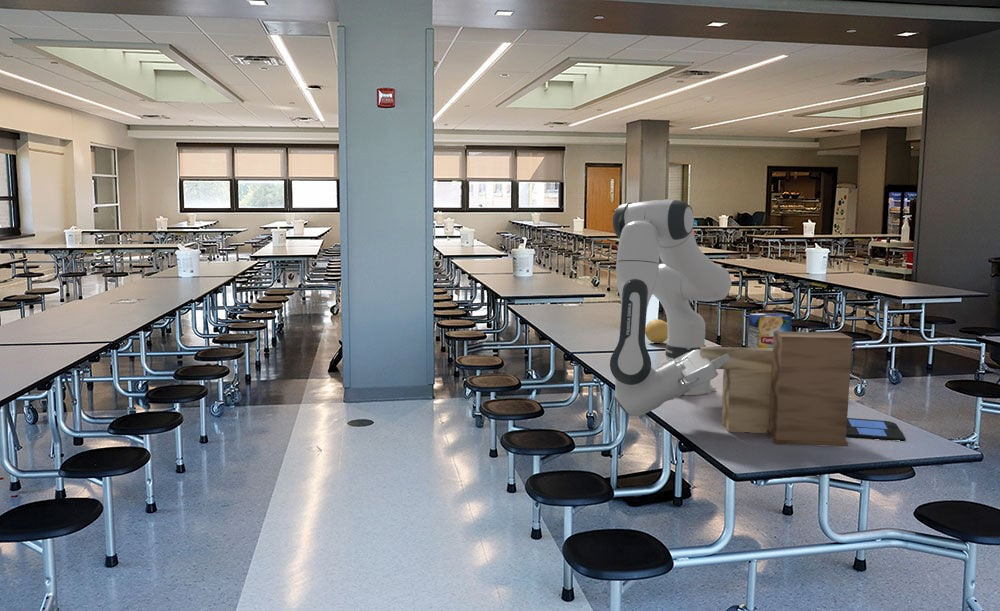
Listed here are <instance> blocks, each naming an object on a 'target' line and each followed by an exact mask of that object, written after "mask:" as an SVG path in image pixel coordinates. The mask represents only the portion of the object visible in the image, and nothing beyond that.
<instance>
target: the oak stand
mask: <svg viewBox="0 0 1000 611" xmlns="http://www.w3.org/2000/svg"><path fill="white" fill-rule="evenodd" d="M722 373H723V375H722V376H723V377H722V397H721V424H722V423H723V424H722V425H723V427H724V426H725V427H724V428H725V429H726V431H727V430H728V431H727V432H728V433H744V432H750V434H751V433H753V434H766V430H769V413H770V393H771V374H772V370H735V369H723V372H722Z"/></svg>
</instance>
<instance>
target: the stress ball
mask: <svg viewBox="0 0 1000 611" xmlns="http://www.w3.org/2000/svg"><path fill="white" fill-rule="evenodd" d="M645 338H647V339H648V341H650V343H653V342H654V343H661V344H662V343H664V342H665V341H668V326H667V321H665V320H662V319H656V318H655V319H653V320H650V321H649V322H648V323H646V329H645ZM654 343H653V344H654Z"/></svg>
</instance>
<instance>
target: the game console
mask: <svg viewBox="0 0 1000 611" xmlns="http://www.w3.org/2000/svg"><path fill="white" fill-rule="evenodd" d="M846 438H850V439H851V438H852V439H864V440H874V439H879V440H878V441H887V440H900V441H905V442H906V439H907V438H906V437H905V435H904V434H903V432H902V430H901V429H900V427H899V426H898V425H897V423H896V422H893V421H888V420H880V419H879V420H878V419H866V418H853V417H847V430H846Z"/></svg>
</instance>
